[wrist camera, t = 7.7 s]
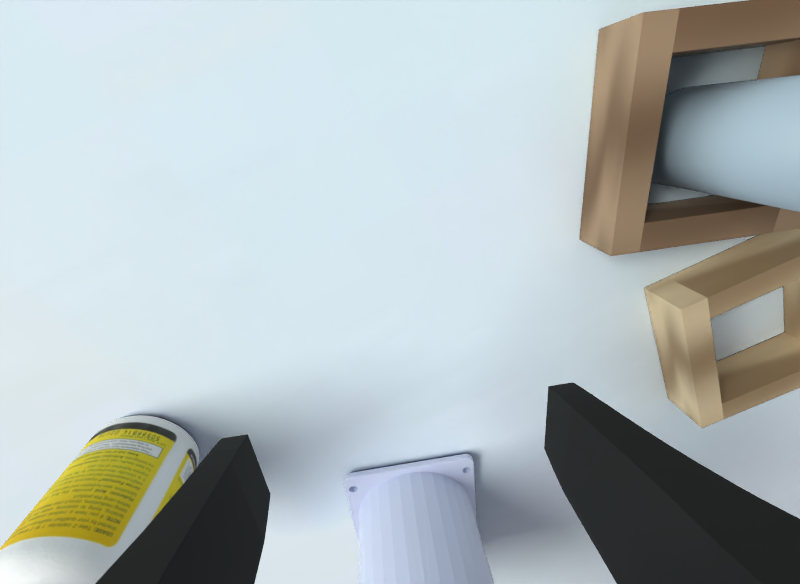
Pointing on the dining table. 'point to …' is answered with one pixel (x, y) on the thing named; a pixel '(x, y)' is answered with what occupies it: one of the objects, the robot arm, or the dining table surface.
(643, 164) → the wooden square ring
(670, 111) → the thick gray cylindrical peg
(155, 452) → the supplement bottle
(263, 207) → the dining table surface
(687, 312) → the light wooden square frame
